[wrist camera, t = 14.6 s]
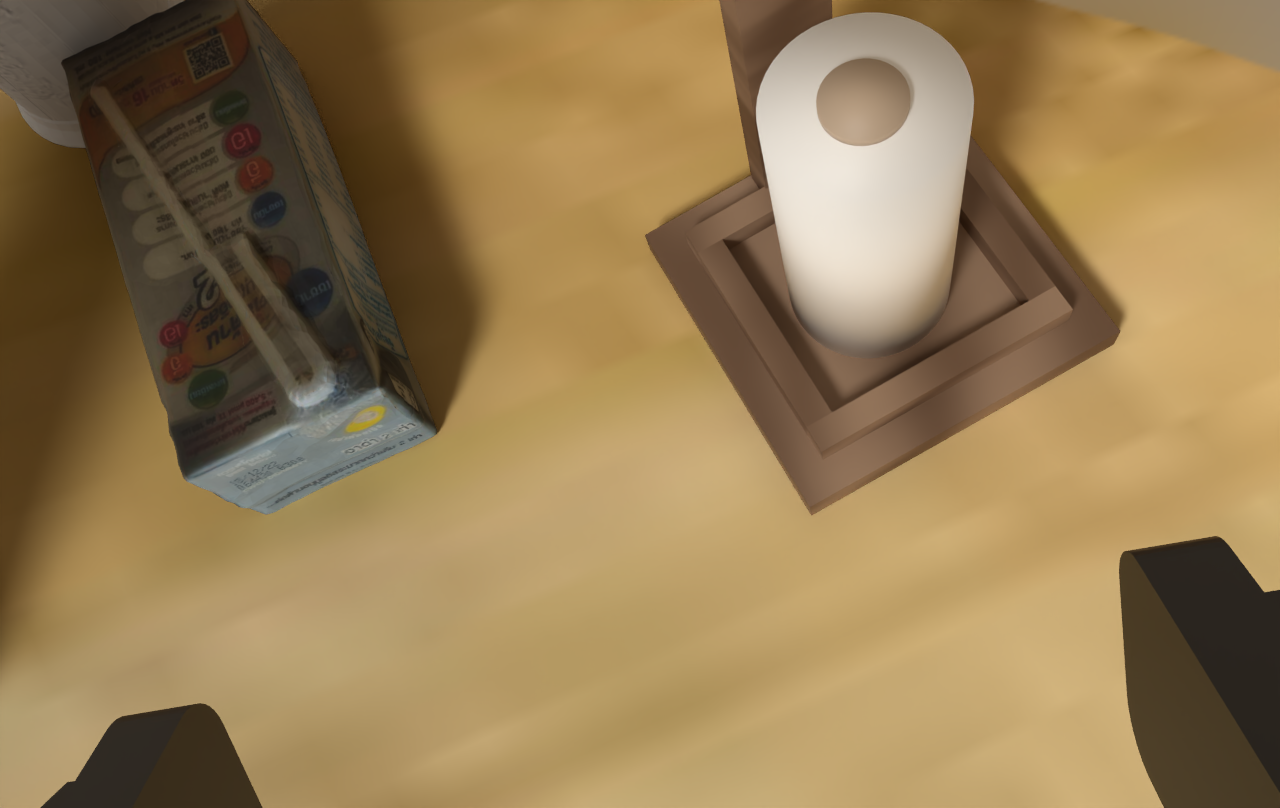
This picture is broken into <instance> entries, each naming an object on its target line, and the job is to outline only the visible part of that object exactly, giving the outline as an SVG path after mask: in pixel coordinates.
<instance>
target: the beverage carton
mask: <svg viewBox="0 0 1280 808" xmlns="http://www.w3.org/2000/svg"><path fill="white" fill-rule="evenodd" d="M61 65H62V67H63V69H64V70H65V73H66V77H67V81H68V87H69V93H70V98H71V101H72V103H73V106H74V109H75V112H76V115H77V118H78V122H79V126H80V130H81V134H82V138H83V141H84V144H85V147H86V150H87V154H88V157H89V160H90V164H91V168H92V171H93V175H94V178H95V182H96V185H97V189H98V192H99V195H100V199H101V202H102V205H103V208H104V212H105V215H106V218H107V221H108V225H109V228H110V232H111V235H112V238H113V242H114V245H115V249H116V252H117V256H118V259H119V263H120V266H121V270H122V273H123V277H124V280H125V284H126V287H127V290H128V292H129V295H130V299H131V302H132V306H133V309H134V312H135V316H136V319H137V323H138V326H139V329H140V333H141V336H142V339H143V343H144V346H145V349H146V353H147V356H148V359H149V362H150V366H151V369H152V372H153V375H154V379H155V382H156V385H157V388H158V392H159V395H160V398H161V401H162V403H163V405H164V407H165V408H166V411H167V414H168V423H169V433H170V436H171V438H172V440H173V441H174V445H175V449H176V453H177V459H178V464H179V467H180V470H181V472H182V475H183V477H184V479H185V480H186V481H187V482H190V483H192V484H194V485H196V486H198V487H201V488H203V489H206V490H209V491H211V492H213V493H214V494H216V495H218V496H219V497H221V498H223V499H224V500H226V501H228V502H232V503H234V504H236V505H237V506H239V507H241V508H250V509H252V510H255V511H258V512H261V513H263V514H270V513H273V512H276V511H278V510H279V509H281V508H283V507H285V506H287V505H288V504H290V503H292V502H294V501H297V500H299V499H301V498H303V497H305V496H307V495H309V494H311V493H312V492H314V491H317V490H319V489H321V488H323V487H325V486H327V485H329V484H331V483H334V482H336V481H338V480H340V479H343V478H345V477H347V476H349V475H351V474H353V473H355V472H358V471H360V470H362V469H364V468H366V467H369V466H371V465H373V464H376V463H378V462H380V461H382V460H384V459H387V458H389V457H391V456H393V455H395V454H397V453H399V452H402V451H404V450H407V449H409V448H411V447H413V446H415V445H418V444H420V443H421V442H423V441H425V440H427V439H429V438H431V437H433V436H434V435H436V434H437V429H436V427H435V424H434V422H433V419H432V417H431V414H430V411H429V408H428V405H427V402H426V399H425V396H424V394H423V392H422V389H421V387H420V385H419V383H418V380H417V378H416V375H415V373H414V370H413V368H412V365H411V362H410V360H409V357H408V354H407V351H406V349H405V346H404V343H403V340H402V338H401V335H400V332H399V329H398V326H397V323H396V321H395V318H394V315H393V313H392V310H391V308H390V305H389V302H388V300H387V297H386V295H385V292H384V289H383V287H382V284H381V281H380V278H379V276H378V273H377V270H376V267H375V265H374V262H373V259H372V256H371V254H370V251H369V248H368V246H367V243H366V240H365V237H364V234H363V231H362V228H361V225H360V223H359V220H358V217H357V214H356V212H355V209H354V206H353V204H352V201H351V198H350V196H349V193H348V190H347V188H346V185H345V182H344V179H343V177H342V174H341V171H340V168H339V166H338V163H337V161H336V158H335V156H334V153H333V150H332V148H331V145H330V143H329V140H328V137H327V135H326V132H325V130H324V127H323V124H322V122H321V119H320V117H319V114H318V112H317V109H316V107H315V105H314V102H313V100H312V97H311V95H310V93H309V90H308V87H307V84H306V82H305V80H304V78H303V76H302V74H301V72H300V69H299V66H298V62H297V61H296V60H295V58H294V57H293V56H292V55H291V53H290V52H289V51H288V50H287V48H286V47H285V46H284V45H283V44H282V43H281V42H280V40H279V39H278V38H277V36H276V35H275V34H274V33H273V32H272V30H271V29H270V28H269V27H268V25H267V24H266V23H265V22H264V21H263V20H262V19H261V17H260V16H259V14H258V12H257V11H256V10H255V9H254V8H253V7H252V6H251V5H250V3H249V2H248V1H247V0H185V1H183V2H180V3H178V4H176V5H174V6H173V7H171V8H169V9H167V10H165V11H163V12H159V13H155V14H153V15H151V16H149V17H147V18H146V19H144V20H142V21H141V22H138V23H136V24H133V25H131V26H130V27H129V28H128V29H127V30H125V31H123V32H121V33H119V34H117V35H115V36H113V37H112V38H110V39H108V40H106V41H103V42H101V43H98V44H96V45H93V46H91V47H88V48H86V49H84V50H82V51H80V52H79V53H77V54H74V55H72V56H70V57H68V58H66V59H63V60H62V62H61Z"/></svg>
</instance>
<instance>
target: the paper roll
mask: <svg viewBox="0 0 1280 808" xmlns="http://www.w3.org/2000/svg"><path fill="white" fill-rule="evenodd" d="M973 109H974V94H973V87H972V82H971V78H970V75H969V73H968V70H967V68H966V65H965V64H964V62H963V60H962V59H961V57H960V55H959V54H958V53H957V51H956V50H955V49H954V48H953V46H952V45H951V44H950V43H949V42H948V41H947V40H945V39H944V38H943V37H942V36H941V35H940V34H938V33H937V32H935V31H934V30H932V29H931V28H929V27H927V26H925V25H923V24H922V23H920V22H917V21H915V20H912V19H909V18H906V17H903V16H898V15H894V14H887V13H877V12H864V13H855V14H848V15H844V16H839V17H836V18H833V19H830V20H827V21H824V22H822V23H820V24H818V25H815V26H813V27H811V28H810V29H808V30H806V31H805V32H803V33H801V34H800V35H799V36H797V37H796V38H795V39H794V40H792V41H791V42H790V43H789V44H788V45H787V46H786V47H785V48H784V49H783V50H782V51H781V52H780V53H779V54H778V55H777V57H776V58H775V59H774V60H773V62H772V63H771V65H770V67H769V68H768V70H767V72H766V73H765V76H764V78H763V81H762V83H761V85H760V89H759V93H758V97H757V105H756V122H757V128H758V134H759V139H760V144H761V149H762V155H763V160H764V165H765V170H766V176H767V181H768V186H769V191H770V197H771V202H772V207H773V212H774V218H775V223H776V228H777V233H778V239H779V244H780V249H781V254H782V260H783V265H784V270H785V275H786V281H787V286H788V291H789V296H790V302H791V305H792V308H793V311H794V314H795V316H796V318H797V320H798V321H799V323H800V324H801V326H802V327H803V329H804V330H805V331H806V332H807V333H808V334H809V335H810V336H811V337H812V338H813V339H814V340H815V341H817V342H818V343H819V344H821V345H823V346H824V347H826V348H827V349H830V350H832V351H834V352H836V353H839V354H842V355H845V356H850V357H855V358H879V357H885V356H890V355H893V354H896V353H899V352H901V351H904V350H906V349H908V348H910V347H911V346H913V345H915V344H916V343H918V342H919V341H920V340H922V339H923V338H924V337H925V336H926V335H927V334H928V333H929V332H930V331H931V330H932V329H933V328H934V327H935V325H936V324H937V323H938V321H939V320H940V318H941V316H942V314H943V312H944V310H945V307H946V305H947V301H948V297H949V292H950V285H951V277H952V270H953V262H954V254H955V247H956V239H957V232H958V224H959V217H960V209H961V202H962V194H963V187H964V179H965V172H966V164H967V157H968V149H969V142H970V134H971V127H972V119H973Z"/></svg>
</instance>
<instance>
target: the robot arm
mask: <svg viewBox="0 0 1280 808" xmlns="http://www.w3.org/2000/svg"><path fill="white" fill-rule="evenodd" d="M1119 579H1120V594H1121V609H1122V624H1123V639H1124V655H1125V670H1126V685H1127V698H1128V706H1129V713H1130V718H1131V723H1132V727H1133V732H1134V735H1135V739H1136V743H1137V746H1138V749H1139V752H1140V755H1141V758H1142V761H1143V764H1144V766H1145V769H1146V771H1147V773H1148V776H1149V778H1150V780H1151V782H1152V784H1153V786H1154V788H1155V790H1156V792H1157V794H1158V796H1159V798H1160V800H1161V802H1162V804H1163V806H1164V808H1280V590H1277V591H1270V592H1263V590H1262V589H1261V588H1260V586H1259V585H1258V584H1257V582H1256V581H1255V580H1254V578H1253V577H1252V576H1251V574H1250V573H1249V572H1248V570H1247V569H1246V568H1245V566H1244V565H1243V564H1242V562H1241V561H1240V560H1239V558H1238V557H1237V556H1236V554H1235V553H1234V552H1233V550H1232V549H1231V548H1230V546H1229V545H1228V544H1227V543H1226V542H1225V541H1224V540H1223V539H1222V538H1220V537H1217V536H1214V537H1208V538H1202V539H1196V540H1190V541H1184V542H1178V543H1172V544H1166V545H1160V546H1154V547H1148V548H1142V549H1136V550H1130V551H1124V552H1123V553H1122V555H1121V558H1120V565H1119ZM41 808H262V806H261V804H260V802H259V799H258V797H257V795H256V793H255V791H254V789H253V787H252V785H251V782H250V780H249V778H248V776H247V774H246V772H245V770H244V767H243V765H242V763H241V761H240V759H239V757H238V755H237V753H236V750H235V748H234V746H233V744H232V742H231V740H230V738H229V735H228V733H227V731H226V729H225V727H224V725H223V723H222V721H221V719H220V717H219V716H218V715H217V713H216V712H215V711H214V710H213V709H212V708H211V707H210V706H208V705H206V704H201V703H199V704H193V705H187V706H181V707H175V708H170V709H164V710H158V711H152V712H146V713H140V714H134V715H128V716H122V717H120V718H118V719H116V720H115V721H114V722H113V723H112V724H111V725H110V727H109V728H108V729H107V731H106V732H105V734H104V736H103V737H102V739H101V740H100V742H99V744H98V745H97V747H96V748H95V750H94V752H93V753H92V755H91V756H90V758H89V760H88V761H87V763H86V764H85V766H84V768H83V769H82V771H81V773H80V774H79V776H78V777H77V779H76V781H73V782H67V783H66V784H65V785H64V786H63V787H62V788H61V789H60V790H59V791H58V792H57V793H55V794H54V795H53V796H52V797H51V798H50V799H49V800H48V801H47V802H46V803H45V804H44V805H43V806H42V807H41Z"/></svg>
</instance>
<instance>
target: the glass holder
mask: <svg viewBox="0 0 1280 808" xmlns="http://www.w3.org/2000/svg"><path fill="white" fill-rule="evenodd" d="M183 1H184V0H0V89H2V90H3V91H4V92H5V93H6V94H7V95H9V96H10V97H11V98H12V99H13V100H15V101H16V104H17V106H18V108H19V110H20V113H21V115H22V117H23V118H24V119H25V121H26V122H27V123H28V125H29V126H30V127H31V128H32V129H33V130H34V131H35V132H36V133H38V134H39V135H40V136H41V137H43V138H45V139H47V140H49V141H51V142H53V143H55V144H59V145H63V146H66V147H74V148H86V147H85V144H84V141H83V138H82V134H81V130H80V126H79V122H78V118H77V115H76V112H75V109H74V106H73V103H72V101H71V98H70V93H69V87H68V81H67V77H66V73H65V70H64V69H63V67H62V65H61V62H62V60H63V59H66V58H68V57H70V56H72V55H74V54H77V53H79V52H80V51H82V50H84V49H86V48H88V47H91V46H93V45H96V44H98V43H101V42H103V41H106V40H108V39H110V38H112V37H113V36H115V35H117V34H119V33H121V32H123V31H125V30H127V29H128V28H129V27H130V26H131V25H133V24H136V23H138V22H141V21H142V20H144V19H146V18H147V17H149V16H151V15H153V14H155V13H159V12H163V11H165V10H167V9H169V8H171V7H173V6H174V5H176V4H178V3H180V2H183Z"/></svg>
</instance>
